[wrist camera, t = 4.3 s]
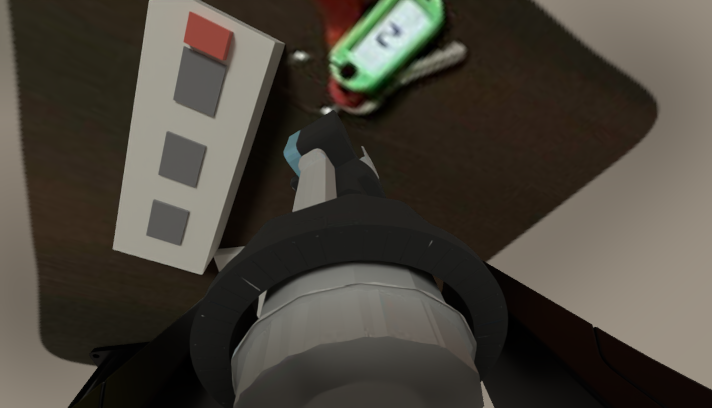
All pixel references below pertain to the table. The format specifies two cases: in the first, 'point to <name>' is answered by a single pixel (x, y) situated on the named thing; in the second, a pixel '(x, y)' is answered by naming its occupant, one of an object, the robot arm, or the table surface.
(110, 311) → the table surface
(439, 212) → the table surface
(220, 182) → the power strip
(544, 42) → the table surface
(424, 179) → the table surface
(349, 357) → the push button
